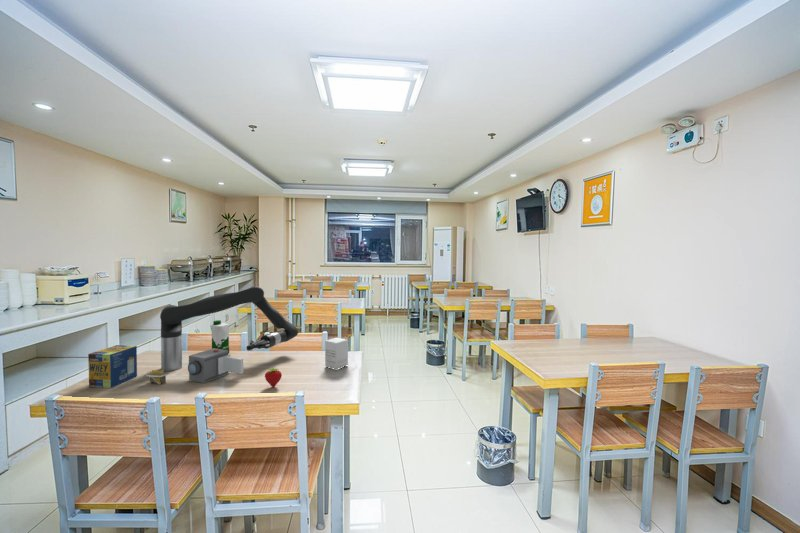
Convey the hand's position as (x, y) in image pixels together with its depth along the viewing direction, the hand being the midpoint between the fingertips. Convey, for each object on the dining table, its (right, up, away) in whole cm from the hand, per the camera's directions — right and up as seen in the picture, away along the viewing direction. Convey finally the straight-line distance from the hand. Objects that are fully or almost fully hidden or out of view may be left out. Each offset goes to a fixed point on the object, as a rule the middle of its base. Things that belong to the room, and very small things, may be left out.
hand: (247, 348), depth 180 cm
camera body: (-16, -12, -10) cm, 22 cm away
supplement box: (+45, -13, +9) cm, 47 cm away
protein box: (-56, -12, -16) cm, 60 cm away
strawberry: (+21, -13, -20) cm, 32 cm away
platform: (-35, -13, -18) cm, 41 cm away
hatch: (-3, -10, -9) cm, 14 cm away
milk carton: (-30, -11, +30) cm, 44 cm away
